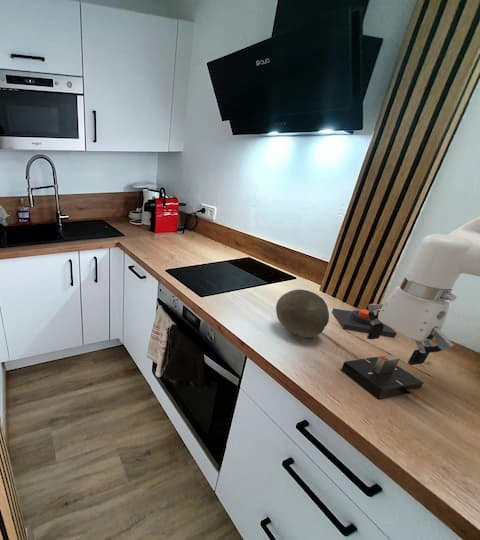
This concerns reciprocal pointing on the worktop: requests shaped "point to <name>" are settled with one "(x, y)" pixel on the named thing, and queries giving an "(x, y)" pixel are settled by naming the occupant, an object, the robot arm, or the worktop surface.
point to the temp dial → (386, 364)
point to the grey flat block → (358, 322)
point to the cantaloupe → (302, 313)
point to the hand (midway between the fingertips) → (391, 350)
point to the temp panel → (380, 378)
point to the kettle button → (364, 313)
